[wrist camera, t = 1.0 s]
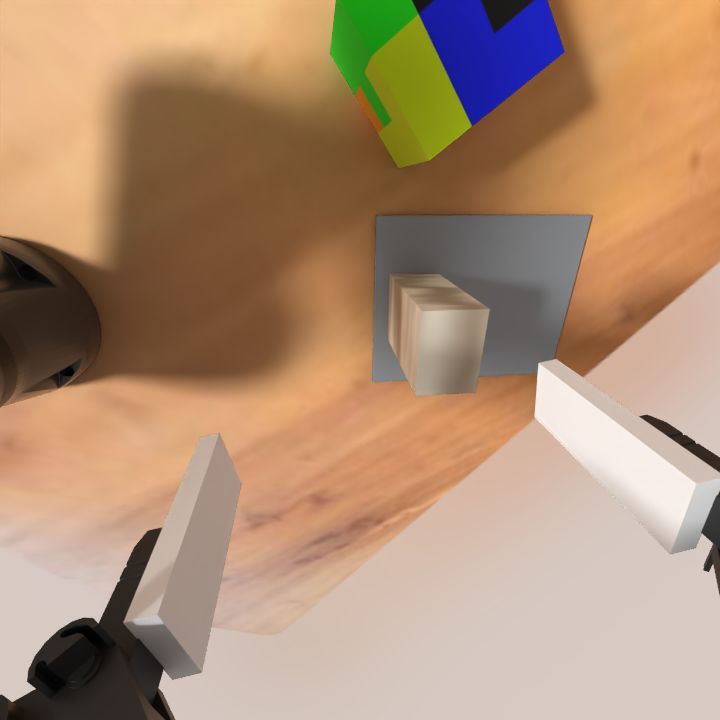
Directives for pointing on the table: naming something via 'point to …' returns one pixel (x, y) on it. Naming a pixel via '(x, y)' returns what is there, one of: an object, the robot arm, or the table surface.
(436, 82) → the puzzle toy
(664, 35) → the table surface
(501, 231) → the slate mat
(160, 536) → the robot arm
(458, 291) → the birch block
